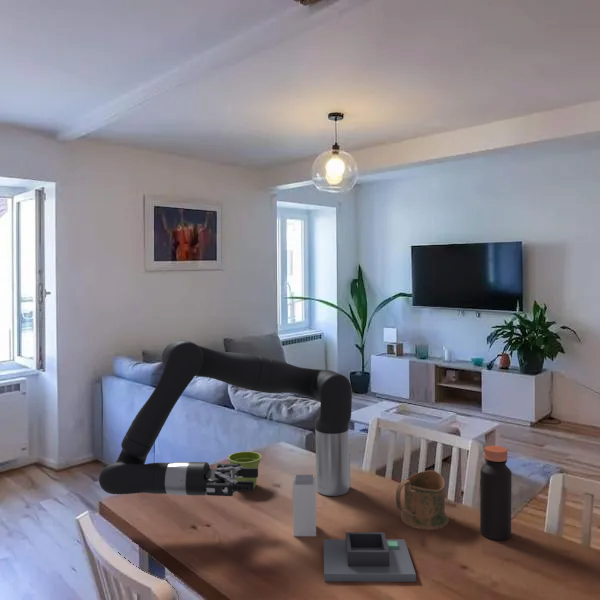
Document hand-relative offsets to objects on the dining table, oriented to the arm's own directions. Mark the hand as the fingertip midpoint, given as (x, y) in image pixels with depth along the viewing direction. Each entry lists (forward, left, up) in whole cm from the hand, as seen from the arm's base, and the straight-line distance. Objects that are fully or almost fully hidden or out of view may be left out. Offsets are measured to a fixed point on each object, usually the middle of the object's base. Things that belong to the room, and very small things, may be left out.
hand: (256, 479), depth 130 cm
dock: (-3, +28, -12) cm, 31 cm away
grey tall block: (-7, +9, -13) cm, 17 cm away
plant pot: (-19, -21, -13) cm, 31 cm away
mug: (-26, +29, -13) cm, 41 cm away
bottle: (-31, +46, -13) cm, 57 cm away
